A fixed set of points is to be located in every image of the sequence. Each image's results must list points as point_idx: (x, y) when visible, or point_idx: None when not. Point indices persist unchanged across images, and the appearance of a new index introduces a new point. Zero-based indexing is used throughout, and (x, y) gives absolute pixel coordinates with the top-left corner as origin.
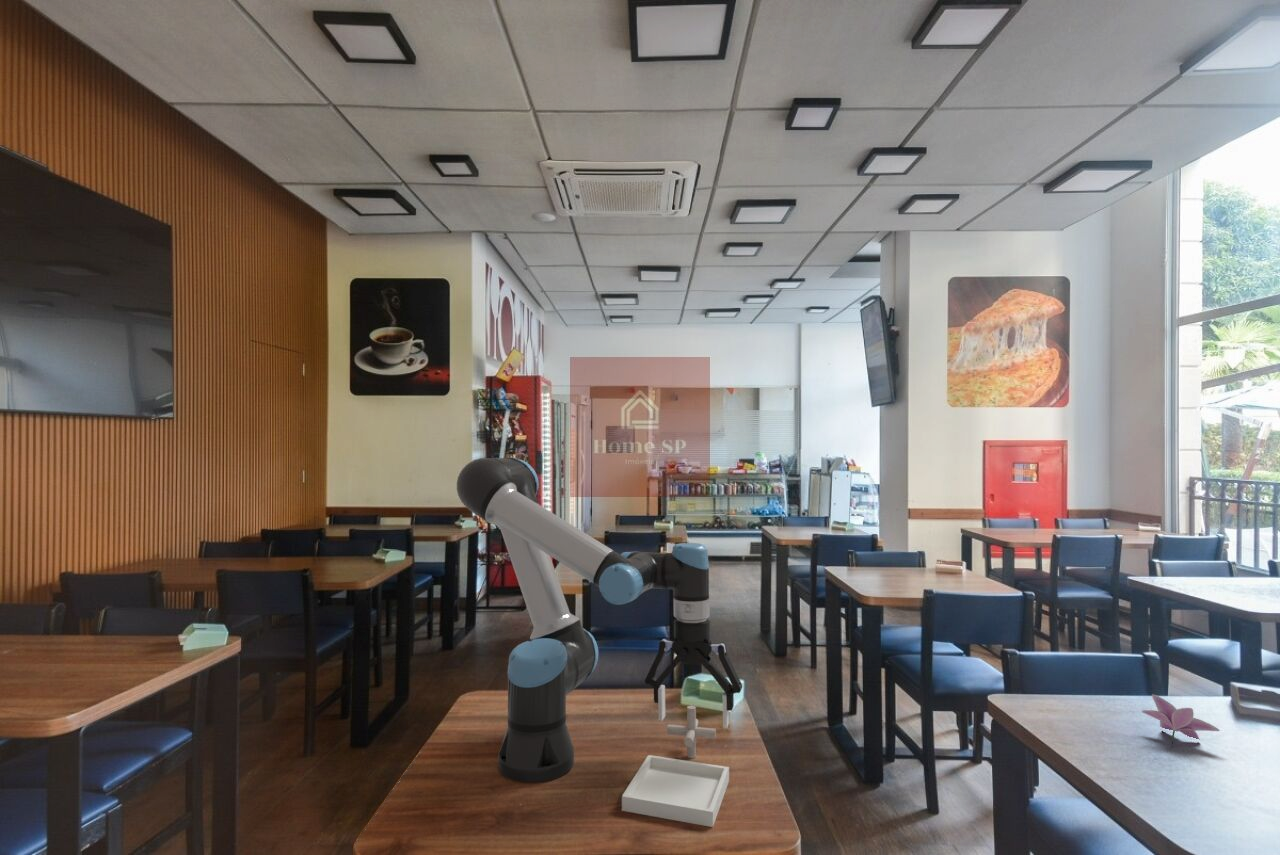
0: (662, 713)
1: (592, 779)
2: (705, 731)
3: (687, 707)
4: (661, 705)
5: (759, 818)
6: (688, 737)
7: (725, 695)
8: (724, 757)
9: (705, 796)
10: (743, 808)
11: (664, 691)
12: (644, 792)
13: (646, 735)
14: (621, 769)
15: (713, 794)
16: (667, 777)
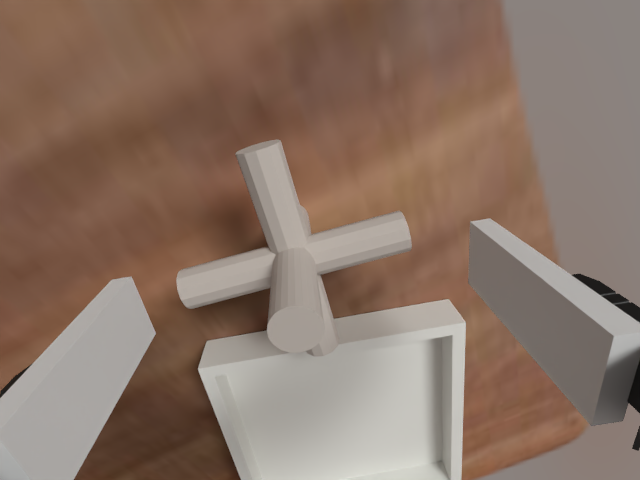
0: (138, 349)
1: (117, 441)
2: (365, 260)
3: (275, 344)
4: (118, 398)
5: (535, 398)
6: (323, 354)
7: (617, 416)
8: (404, 170)
9: (414, 407)
10: (499, 384)
11: (43, 400)
12: (275, 451)
13: (33, 135)
14: (145, 378)
15: (431, 393)
16: (294, 383)
